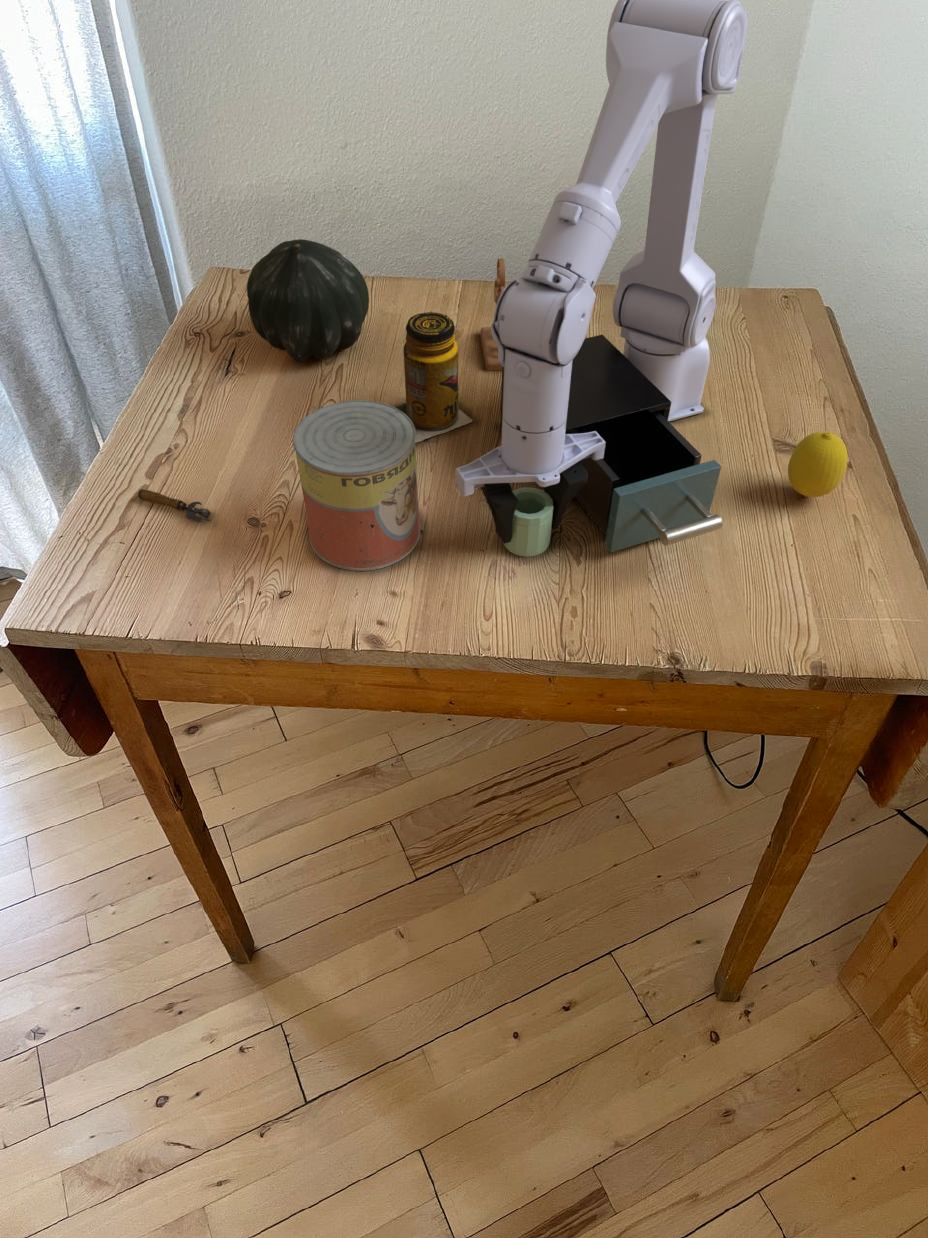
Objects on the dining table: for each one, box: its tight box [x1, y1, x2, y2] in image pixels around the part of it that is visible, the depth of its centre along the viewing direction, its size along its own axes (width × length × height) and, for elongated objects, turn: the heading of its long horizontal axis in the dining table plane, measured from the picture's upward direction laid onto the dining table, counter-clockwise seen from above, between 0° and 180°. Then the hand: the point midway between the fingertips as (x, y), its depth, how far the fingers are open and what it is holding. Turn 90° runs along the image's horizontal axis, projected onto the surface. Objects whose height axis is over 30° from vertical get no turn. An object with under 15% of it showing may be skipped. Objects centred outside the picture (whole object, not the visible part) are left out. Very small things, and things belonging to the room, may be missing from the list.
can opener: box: [137, 488, 211, 523], centre depth 94 cm, size 9×2×1 cm, turn 62°
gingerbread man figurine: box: [480, 257, 507, 372], centre depth 111 cm, size 9×4×12 cm, turn 4°
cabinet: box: [499, 334, 671, 434], centre depth 98 cm, size 14×12×9 cm
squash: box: [246, 238, 370, 362], centre depth 112 cm, size 14×15×15 cm
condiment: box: [394, 311, 473, 444], centre depth 101 cm, size 7×8×12 cm
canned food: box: [292, 399, 421, 572], centre depth 88 cm, size 11×11×12 cm
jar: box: [503, 486, 553, 558], centre depth 89 cm, size 5×5×5 cm
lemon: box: [787, 431, 849, 498], centre depth 93 cm, size 6×6×8 cm
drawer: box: [573, 411, 723, 554], centre depth 90 cm, size 18×11×7 cm, turn 23°
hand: (526, 529), depth 90 cm, fingers closed on jar, 5 cm apart
